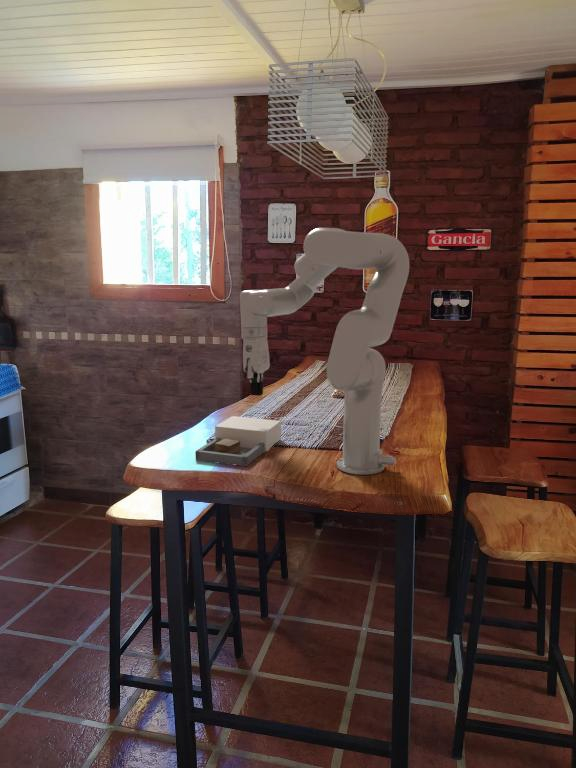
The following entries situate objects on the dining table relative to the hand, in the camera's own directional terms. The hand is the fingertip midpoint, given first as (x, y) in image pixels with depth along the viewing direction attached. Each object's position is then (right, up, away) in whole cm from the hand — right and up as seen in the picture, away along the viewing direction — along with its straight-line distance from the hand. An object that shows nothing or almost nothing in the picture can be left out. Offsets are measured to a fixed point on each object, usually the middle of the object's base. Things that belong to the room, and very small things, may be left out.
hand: (257, 394), depth 177 cm
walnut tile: (-8, -13, -10) cm, 18 cm away
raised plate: (-2, -14, +1) cm, 15 cm away
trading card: (+20, -13, +11) cm, 27 cm away
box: (-7, -17, -10) cm, 21 cm away
